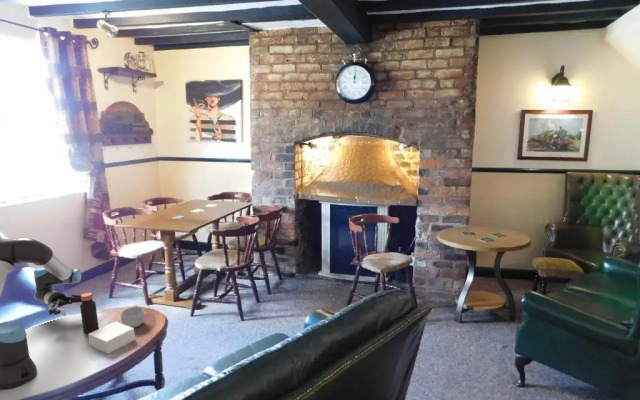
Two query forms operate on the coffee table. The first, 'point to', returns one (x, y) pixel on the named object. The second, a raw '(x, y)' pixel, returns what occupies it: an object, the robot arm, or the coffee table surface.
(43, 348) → the coffee table surface
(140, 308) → the teacup
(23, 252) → the robot arm
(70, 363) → the coffee table surface
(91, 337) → the riser
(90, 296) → the vinegar
